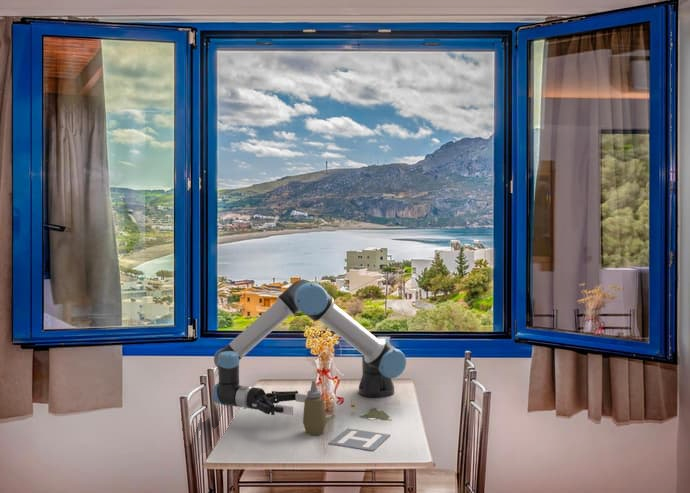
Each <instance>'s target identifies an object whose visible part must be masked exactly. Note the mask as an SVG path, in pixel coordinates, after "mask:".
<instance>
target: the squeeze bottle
mask: <svg viewBox="0 0 690 493" xmlns="http://www.w3.org/2000/svg"><path fill="white" fill-rule="evenodd" d="M306 395H307V396H308V397H307V398H306V399H305V403H304V402H303V403H304V406H303V416H302V423H303V427H304V430H305V432H306V434H307V435H310V436H320V435H322V434H323V433H324V431H325V427H326V424H327V416H326V415H327V414H326V409H325V399H324V397H322V391H321V390H320V389H318V385H317V382H316V380H312V381H311V386H310V389H309V390H307V394H306Z"/></svg>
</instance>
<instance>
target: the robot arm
mask: <svg viewBox="0 0 690 493" xmlns="http://www.w3.org/2000/svg"><path fill="white" fill-rule="evenodd" d="M334 301H335V300H334V297H333V296H332V295H330V294H329V293H328V292H326V289H324V287H323V286H322V285H320V284H318V283H316V282H312V281H310V280H307V279H301V280H300V279H299V280H297V281H296V280H295V282H293V283H292V284H291V285H289V286H288V287H287V288H286V289H285V290H284V291H283V292H282V293H281V294H280V295H279V296H277V298H276V302H274V303H273V304H272V305H271V306H269V308H268V309H267V310H265V311H264V312H263V313H261V315H260V316H258V317H257V318H256V319H255V320H254V321H253V322H252V323H251V324H249V325H248V326H247V327H245V329H243V331H242V332H240V333H239V334H238V335H237V336H236V337H234V339H232V341H231V342H230V343H228V344H227V345H226V346H224V348H220V349H218V350H217V351H216V352H215V354H214V356H213V361H214V365H215V367H216V369H217V372H218V383H216V384H215V385H214V386H213V388H212V392H211V398H212V400H213V402H214V403H216V404H218V405H222V406H230V407H238V408H243V409H244V410H246V409H250V410H258V411H260V412H262V413H264V414H266V415H270V414H271V416H275V414H276V413H277V414H281V415H282V414H283V415H290V416H294V405H292V406H291V405H285V404H279V403H280V402H290V401H292V402H293V401H295V402H297V403H298V402H299V403H305V399H306V398H307V397H308V396H307V394H306V393H305V394H303V393H299V390H293V391H291V390H290V391H287V390H286V391H276V390H275V391H274V390H272V391H271V392H267V393H266V392H265V390H264V389H263V388H261V387H260V388H259V387H252V386H246V385H240V360H242V358H243V357H245V356H246V355H247V354H248V353H250V351H251V350H253V349H254V348H255V347H256V346H257V345H258V344H259V343H260V342H261V341H263V340H264V339H265V338H266V337H267V336H268V335H269V334H271V332H273V331H274V330H275V329H276V328H277V327H279V326H280V325H281V324H282V323H283V322H284V321H286V319H288V318H289V317H290V316H294V315H295V314H297V313H298V312H301V313H303V314H304V315H305V316H307V317H308V318H309V319H311V320H312V321H313V322H315V323H316V322H321V323H322V324H324V325H325V326H326V327H327V328H328V329H330V330H331V331H332V332H333V333H335V334H336V335H337V336H339V337H340V338H341V339H343V341H345V342H346V343H347V344H349V345H350V346H351V347H353V349H355V350H356V351H357V352H359V353H360V354H361V356H362V357H361V359H362V360H361V362H362V363H361V364H362V366H361V367H362V370H361V371H362V373H361V374H362V375H361V378H360V381H359V385H358V393H359V395H361V396H364V397H368V398H386V397H390V396H392V395H394V394H395V385H394V382H393V380H392V379H394V378H398V377H400V376H401V375H402V374H403V372H404V371H405V370H406V366H407V358H406V354H404V352H402V350H400V349H398V348H396V347H395V346H393V345H392V343H391V341H390V339H389V337H376V336H375V335H374V334H372V333H371V332H370V331H369V330H368V329H366V328H365V327H364V326H363V325H361V324H360V323H359V322H357V321H356V320H355V319H354V318H353V317H351V316H350V315H349V314H348V313H346V312H345V311H344V309H343V310H342V308H340V307H339V306H337V305H336V303H334Z"/></svg>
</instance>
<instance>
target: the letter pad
mask: <svg viewBox="0 0 690 493" xmlns="http://www.w3.org/2000/svg"><path fill="white" fill-rule="evenodd" d="M390 437H391V434H390V433H388V434H387V433H382V432H375V431H368V430H361V429H354V428H350V427H349V428H346V429H345V430H343V431H342V432H341V433H339V434H338V435H337V436H336V437H334V438H333V439H332V440H330V441H329V442H328V445H334V446H338V447H339V446H340V447H345V448H350V449H351V448H352V449H357V450H364V451H369V452H375V450H377V448H379V447H380V446H381V445H382V444H383V443H384V442H385V441H387V439H389V438H390Z"/></svg>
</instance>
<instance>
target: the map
mask: <svg viewBox="0 0 690 493" xmlns="http://www.w3.org/2000/svg"><path fill="white" fill-rule="evenodd" d="M368 410H369V412H367V413H365V414H362V415H359V417H360V418H365V419H368V418H376V419H375V420H381V421H389V422H390V421H392V422H393V419H389V418H391V416H390V415H389V414H387V413H386V412H385V411H384V410H378V409H377V407H372V408H369V409H368Z"/></svg>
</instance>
